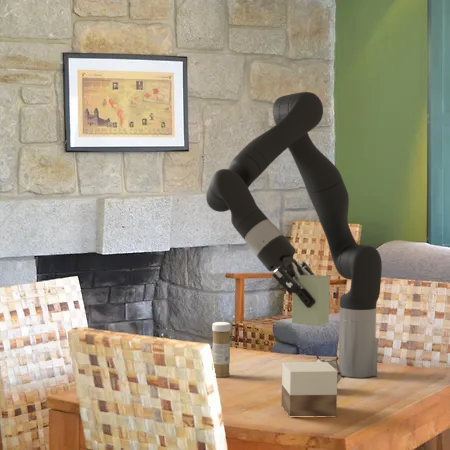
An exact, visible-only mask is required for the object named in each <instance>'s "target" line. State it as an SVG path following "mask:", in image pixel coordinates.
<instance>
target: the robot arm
mask: <svg viewBox="0 0 450 450" xmlns="http://www.w3.org/2000/svg"><path fill="white" fill-rule="evenodd" d="M323 115H324V106H323V102H322V101H321V99H320V97H319V96H318V95H317V94H315V93H314V92H309V91H301V92H295V93H290V94H286V95H283V96H282V95H281V96H279V97H278V98H276V99H275V101H274V102H273V105H272V116H273V120H274V123H275V125H274V126H273V127H271V128H270V129H268V130H267V131H265V132H263V133H262V134H260V135H259V136H257V137H256V138H254V139H252V140H251V141H250V142H249V143H248V144H247V145H245V146H244V147H243V148H242V149H241V150H240V152H239V153H237V155H236V156H234V158H233V159H232V161H231V162H230V164H229V166H228V168H222V169H219V170H217V171H216V172H215V173H214V174H213V175H212V177H211V180H210V182H209V186H208V188H207V190H206V196H205V197H206V202H207V205H208V207H209V208H211V209H212V210H213V211H215V212H220V213H222V212H223V213H224V212H227V211H230V216H231V217H230V219H231V225H232V226H233V228H234V229H235V230H236V232H237V233H238V234H239V235H240V236H241V237H242V239H243V240H244V241H245V242H246V244H247V247H248V248H249V249H250V250H251V251H252V252H253V254H254V255H255V256H256V257H257V259H258V260H259V261H260V262H261V263H262V265H263V266H264V267H265V268H266V269H267V271H268V272H272V273H271V275H272V277H273V278H274V279H275V281H276V282H278V283H279V284H280V285H281V287H282V288H284V290H285V291H286V292H287V293H288V294H289V295H293V294H294V295H296V296H298V297H299V298H300V300H301V301H302V302H303V303H304V304H305V306H306V307H307V308H310V307H312V306H313V305H314V304H315V300H314V298H313V297H312V296H311V295H310V294H309V292H308V291H307V290H306V289H304V286H303V285H302V283H301V282H300V281H299V277H301V275H304V274H305V275H315V273H314V272H313V271H312V269H311V268H310V267H309V265H308V264H307V263H306V262H305V261H302V262H301V263H300V262H299V261H297V260H296V259H295V258H294V255H295V254H296V248H295V247H294V245H292V243H291V242H290V241H289V239H288V238H287V237H286V236H285V235H284V234H283V233H282V231H281V230H280V229H279V228H278V227H277V225H275V224H274V223H273V222H272V221H271V220H270V219H269V218H268V217H267V216H266V214H265V213H264V212H263V211H262V209H260V207H258V204H257V203H256V201H255V198H254V196H253V194H252V193H251V191H250V189H249V187H250V186H251V185H252V184H253V183H254V182H255V181H256V180H257V179H258V178H259V177H260V176H261V175H262V174H263V172H265V170H266V169H267V168H269V166H270V165H271V164H272V163H273V162H274V161H275V160H276V159H277V158H278V157H279V156H280V155H281V154H282V153H283V152H285V151H286V150H287V149H288V151H289V153H290V155H291V157H292V158H293V160H294V163H295V165H296V168H297V169H298V171H299V174H300V175H301V179H302V181H303V184H304V186H305V189H306V192H307V194H308V197H309V199H310V202H311V203H312V207H313V208H314V210H315V213H316V215H317V217H318V220H319V222H320V225H321V227H322V230H323V231H324V232H323V233H324V235H325V239H326V241H327V244H328V248H329V251H330V252H329V253H330V256H331V259H332V261H333V265H334V267H335V269H336V271H337V274H339V275H340V276H341V277H342V278H344V279H347V280H350V288H349V291H348V292H347V293H344V294H342V295H341V296H340V298H339V299H340V300H339V331H338V333H339V334H338V336H339V337H338V339H339V340H338V366H339V368H340V371H341V374H342V376H345V377H347V378H348V377H349V378H360V379H361V378H371V377H377V376H378V357H379V356H378V354H379V353H378V352H379V346H378V345H379V339H378V338H377V337H376V335H377V334H376V332H377V329H376V328H377V305H378V304H377V303H378V300H379V297H380V294H381V285H382V284H381V283H382V269H383V266H382V265H383V262H382V258H381V257H382V256H381V254H380V252H379V250H378V249H377V248H376V247H373V246H370V245H366V244H358V243H357V242H356V240H355V238H354V236H353V233H352V230H351V229H350V225H349V220H348V219H349V218H348V217H349V216H348V215H349V207H350V206H349V204H350V200H349V199H350V198H349V192H348V190H347V186H346V184H345V182H344V180H343V177H342V175H341V173H340V170H339V169H338V168H337V166H335V164H334V163H333V162H332V161H331V160H330V159H329V158H328V157H326V156H325V154H324V153H323V152H321V151H320V150H319V148H317V146H316V145H315V144H314V142H313V141H312V139H311V137H310V135H309V132H311V131H312V130H313V129H315V128H316V127H317V126H318V125H319V124H320V122H321V121H322V118H323ZM294 276H295V278H294V279H293V277H294ZM296 282H297V283H296Z"/></svg>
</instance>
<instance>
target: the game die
mask: <svg viewBox="0 0 450 450" xmlns="http://www.w3.org/2000/svg"><path fill="white" fill-rule="evenodd" d="M338 361H339V356H337V357H336V358H335V359H334V358H333V359H332V358H331V359H330V358H323V357H322V358H320V356H319V355H316V361H315V362H328V363H329V364H330V365H331V366H332V367H333V368H334V369H335V370H336V371H337V385H338V384H339V382H340V381H341V380H342V379H345V378H346V376H343V375H342V374H341V371H340V368H339V366H338V364H339V362H338Z"/></svg>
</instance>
